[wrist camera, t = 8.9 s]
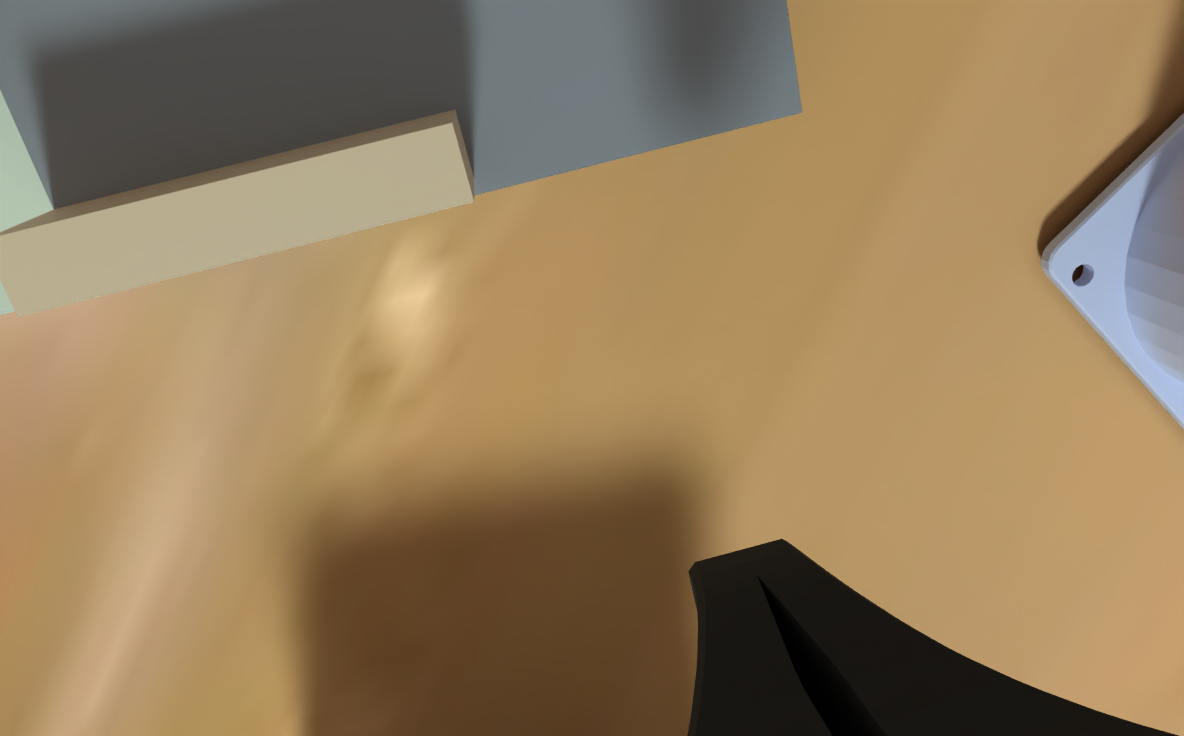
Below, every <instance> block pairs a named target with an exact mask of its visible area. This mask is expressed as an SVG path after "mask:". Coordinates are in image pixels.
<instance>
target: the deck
mask: <svg viewBox="0 0 1184 736" xmlns="http://www.w3.org/2000/svg"><path fill="white" fill-rule="evenodd" d="M0 89H1V92H2V94H3V96H4V98H5V101H6V103H7V105H8V107H9V110H10V112H11V114H12V116H13V119H14V121H15V123H16V125H17V128H18V130H19V132H20V134H21V137H22V139H23V141H24V143H25V145H26V148H27V150H28V152H29V154H30V157H31V159H32V161H33V163H34V166H35V168H36V170H37V172H38V175H39V177H40V179H41V181H42V184H43V186H44V188H45V190H46V193H47V195H48V197H49V199H50V202H51V204H52V206H53V208H54V210H51V211H49V212H47V213H44V214H42V215H40V216H37V217H35V218H32V219H30V220H28V221H25V222H23V223H21V224H18V225H16V226H14V227H11V228H9V229H7V230H4V231H2V232H0V281H1V283H2V285H3V287H4V289H5V291H6V294H7V296H8V298H9V300H10V302H11V304H12V306H13V308H14V310H15V312H16V314H17V316H18V317H21V316H25V315H29V314H33V313H37V312H41V311H45V310H49V309H53V308H57V307H61V306H65V305H69V304H73V303H77V302H81V301H85V300H89V299H93V298H96V297H100V296H104V295H108V294H112V293H116V292H120V291H124V290H128V289H132V288H136V287H140V286H144V285H148V284H152V283H156V282H160V281H164V280H168V279H172V278H176V277H180V276H183V275H187V274H191V273H195V272H199V271H203V270H207V269H211V268H215V267H219V266H223V265H227V264H231V263H235V262H239V261H243V260H247V259H251V258H255V257H259V256H263V255H267V254H271V253H274V252H278V251H282V250H286V249H290V248H294V247H298V246H302V245H306V244H310V243H314V242H318V241H322V240H326V239H330V238H334V237H338V236H342V235H346V234H350V233H354V232H358V231H361V230H365V229H369V228H373V227H377V226H381V225H385V224H389V223H393V222H397V221H401V220H405V219H409V218H413V217H417V216H421V215H425V214H429V213H433V212H437V211H441V210H445V209H449V208H452V207H456V206H460V205H464V204H468V203H472V202H474V195H477V194H481V193H485V192H489V191H493V190H497V189H501V188H505V187H509V186H513V185H517V184H521V183H525V182H529V181H533V180H537V179H541V178H545V177H549V176H553V175H557V174H561V173H564V172H568V171H572V170H576V169H580V168H584V167H588V166H592V165H596V164H600V163H604V162H608V161H612V160H616V159H620V158H624V157H628V156H632V155H636V154H640V153H644V152H648V151H652V150H656V149H660V148H663V147H667V146H671V145H675V144H679V143H683V142H687V141H691V140H695V139H699V138H703V137H707V136H711V135H715V134H719V133H723V132H727V131H731V130H735V129H739V128H743V127H747V126H751V125H755V124H758V123H762V122H766V121H770V120H774V119H778V118H782V117H786V116H790V115H794V114H798V113H802V107H801V100H800V93H799V86H798V79H797V72H796V65H795V58H794V51H793V44H792V37H791V30H790V23H789V15H788V8H787V1H786V0H0Z"/></svg>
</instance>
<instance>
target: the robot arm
mask: <svg viewBox="0 0 1184 736" xmlns="http://www.w3.org/2000/svg"><path fill="white" fill-rule="evenodd" d="M1080 265H1083V273H1082V275H1081V276H1080V278H1079V279H1077V280H1076V281H1074V282H1073V281H1072V274H1073V272H1074V270H1075V269H1076V268H1077V267H1078V266H1080ZM1041 267H1042V269H1043V271H1044V273H1045V274H1046V275H1047V276H1048V278H1049V279H1050V280H1051V281H1052V282H1053V283H1054V284H1055V285H1056V287H1057V288H1058V289H1059V290H1060V291H1061V292H1062V293H1063V294H1064V296H1065V297H1066V298H1067V299H1068V300H1069V301H1070V302H1071V303H1072V305H1073V306H1074V307H1075V308H1076V309H1077V310H1078V311H1079V312H1080V314H1081V315H1082V316H1083V317H1084V318H1085V319H1086V320H1087V321H1088V323H1089V324H1090V325H1091V326H1092V327H1093V328H1094V329H1095V330H1096V332H1097V333H1098V334H1099V335H1100V336H1101V337H1102V338H1103V339H1104V341H1105V342H1106V343H1107V344H1108V345H1109V346H1110V347H1111V348H1112V350H1113V351H1114V352H1115V353H1116V354H1117V355H1118V356H1119V357H1120V359H1121V360H1122V361H1123V362H1124V363H1125V364H1126V365H1127V366H1128V368H1129V369H1130V370H1131V371H1132V372H1133V373H1134V374H1135V375H1136V377H1137V378H1138V379H1139V380H1140V381H1141V382H1142V383H1143V384H1144V385H1145V387H1146V388H1147V389H1148V390H1149V391H1150V392H1151V393H1152V394H1153V396H1154V397H1155V398H1156V399H1157V400H1158V401H1159V402H1160V403H1161V405H1162V406H1163V407H1164V408H1165V409H1166V410H1167V411H1168V412H1169V414H1170V415H1171V416H1172V417H1173V418H1174V419H1175V420H1176V421H1177V423H1178V424H1179V425H1180V426H1181V427H1182V428H1183V429H1184V113H1183V114H1182V115H1181V116H1180V117H1179V118H1178V119H1177V120H1176V121H1175V122H1174V123H1173V124H1172V125H1171V126H1170V127H1169V128H1168V129H1167V130H1166V131H1165V132H1163V133H1162V134H1161V135H1160V136H1159V137H1158V138H1157V139H1156V140H1155V141H1154V142H1153V143H1152V144H1151V145H1150V146H1149V147H1148V148H1147V149H1146V150H1145V151H1144V152H1143V153H1142V154H1141V155H1140V156H1139V157H1138V158H1137V159H1136V160H1135V161H1134V162H1133V163H1131V164H1130V165H1129V166H1128V167H1127V168H1126V169H1125V170H1124V171H1123V172H1122V173H1121V174H1120V175H1119V176H1118V177H1117V178H1116V179H1115V180H1114V181H1113V182H1112V183H1111V184H1110V185H1109V186H1108V187H1107V188H1106V189H1105V190H1104V191H1103V192H1102V193H1101V194H1099V195H1098V196H1097V197H1096V198H1095V199H1094V200H1093V201H1092V202H1091V203H1090V204H1089V205H1088V206H1087V207H1086V208H1085V209H1084V210H1083V211H1082V212H1081V213H1080V214H1079V215H1078V216H1077V217H1076V218H1075V219H1074V220H1073V221H1072V222H1071V223H1070V224H1069V225H1067V226H1066V227H1065V228H1064V229H1063V230H1062V231H1061V232H1060V233H1059V234H1058V235H1057V236H1056V237H1055V238H1054V239H1053V240H1052V241H1051V242H1050V243H1049V244H1048V245H1047V247H1046V248H1045V249H1044V251H1043V254H1042V257H1041ZM689 576H690V581H691V585H692V590H693V594H694V599H695V603H696V607H697V613H698V653H697V671H696V680H695V688H694V697H693V705H692V713H691V719H690V725H689V730H688V736H1178V735H1175V734H1171V733H1168V732H1164V731H1160V730H1157V729H1153V728H1150V727H1146V726H1143V725H1139V724H1136V723H1133V722H1130V721H1127V720H1123V719H1120V718H1117V717H1114V716H1111V715H1108V714H1105V713H1102V712H1099V711H1096V710H1093V709H1090V708H1088V707H1085V706H1082V705H1079V704H1077V703H1074V702H1071V701H1069V700H1066V699H1063V698H1060V697H1058V696H1055V695H1052V694H1049V693H1047V692H1044V691H1042V690H1039V689H1037V688H1034V687H1032V686H1029V685H1027V684H1024V683H1022V682H1020V681H1017V680H1015V679H1013V678H1010V677H1008V676H1006V675H1004V674H1002V673H1000V672H997V671H995V670H993V669H991V668H989V667H987V666H984V665H982V664H980V663H978V662H976V661H973V660H971V659H969V658H967V657H965V656H963V655H961V654H959V653H957V652H955V651H953V650H951V649H949V648H947V647H945V646H944V645H942V644H940V643H938V642H937V641H935V640H933V639H931V638H930V637H928V636H926V635H924V634H923V633H921V632H919V631H917V630H916V629H914V628H912V627H911V626H909V625H907V624H906V623H904V622H902V621H901V620H899V619H897V618H896V617H894V616H893V615H891V614H890V613H888V612H886V611H885V610H883V609H882V608H880V607H879V606H877V605H876V604H874V603H873V602H871V601H869V600H868V599H866V598H865V597H863V596H862V595H860V594H859V593H857V592H856V591H854V590H853V589H852V588H850V587H849V586H847V585H846V584H844V583H843V582H842V581H840V580H839V579H837V578H836V577H835V576H833V575H832V574H830V573H829V572H828V571H826V570H825V569H823V568H822V567H821V566H819V565H818V564H817V563H815V562H814V561H813V560H811V559H810V558H809V557H807V556H806V555H805V554H803V553H802V552H801V551H799V550H798V549H797V548H795V547H794V546H793V545H791V544H790V543H788V542H787V541H785V540H783V539H780V540H776V541H772V542H769V543H765V544H761V545H757V546H754V547H750V548H746V549H742V550H739V551H735V552H731V553H728V554H724V555H720V556H716V557H713V558H709V559H705V560H701V561H698V562H695V563H694V564H693V566H692V567H691V569H690V570H689Z"/></svg>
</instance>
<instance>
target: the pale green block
mask: <svg viewBox="0 0 1184 736" xmlns="http://www.w3.org/2000/svg"><path fill="white" fill-rule="evenodd" d="M51 210H54V208H53V206H52V204H51V202H50V199H49V197H48V195H47V193H46V190H45V188H44V186H43V184H42V181H41V179H40V177H39V175H38V172H37V170H36V168H35V166H34V163H33V161H32V159H31V157H30V154H29V152H28V150H27V148H26V145H25V143H24V141H23V139H22V137H21V134H20V132H19V130H18V128H17V125H16V123H15V121H14V119H13V116H12V114H11V112H10V110H9V107H8V105H7V103H6V101H5V98H4V96H3V94H2V92H1V89H0V232H2V231H4V230H7V229H9V228H11V227H14V226H16V225H18V224H21V223H23V222H25V221H28V220H30V219H32V218H35V217H37V216H40V215H42V214H44V213H47V212H49V211H51ZM14 311H15V310H14V308H13V306H12V304H11V302H10V300H9V298H8V296H7V294H6V291H5V289H4V287H3V285H2V283H1V281H0V315H2V314H6V313H10V312H14Z"/></svg>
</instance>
